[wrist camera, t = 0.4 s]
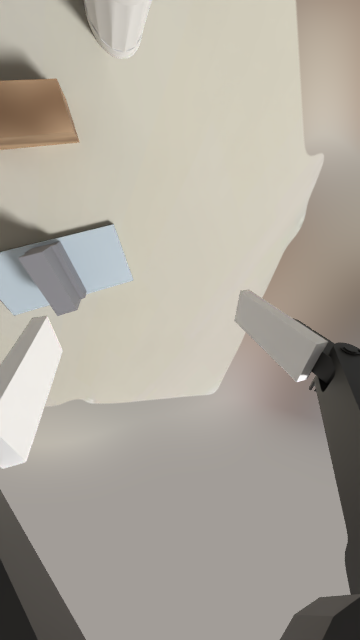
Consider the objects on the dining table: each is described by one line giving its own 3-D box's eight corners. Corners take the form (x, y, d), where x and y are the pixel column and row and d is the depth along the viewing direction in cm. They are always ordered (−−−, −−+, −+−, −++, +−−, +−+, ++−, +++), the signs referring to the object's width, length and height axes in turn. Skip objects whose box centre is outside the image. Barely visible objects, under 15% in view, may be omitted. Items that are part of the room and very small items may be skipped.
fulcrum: (-29, 259, 28) (-71, 275, 22) (113, 223, 31) (113, 229, 25) (16, 312, 34) (-7, 338, 28) (132, 278, 37) (137, 294, 31)
